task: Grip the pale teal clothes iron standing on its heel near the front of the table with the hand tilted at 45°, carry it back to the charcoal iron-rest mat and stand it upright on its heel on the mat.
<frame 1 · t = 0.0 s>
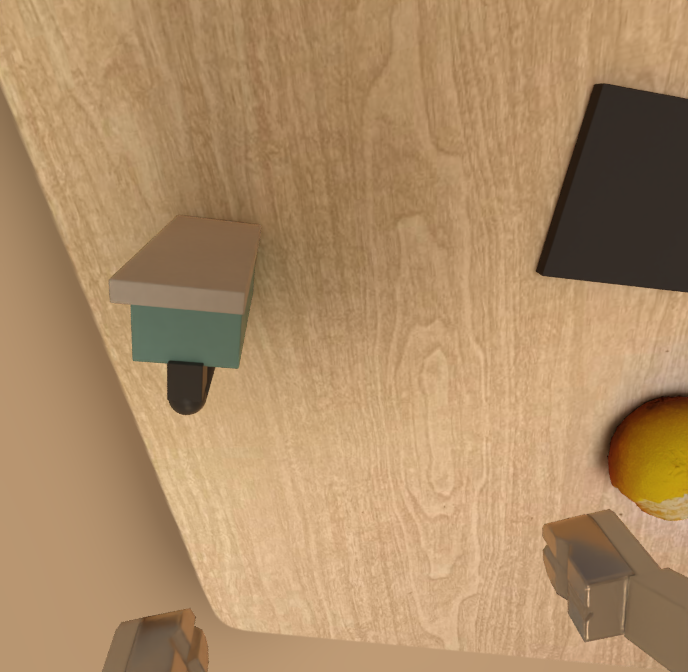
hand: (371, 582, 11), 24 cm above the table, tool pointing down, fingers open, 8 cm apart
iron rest: (643, 196, 33), on the table
fruit: (657, 440, 43), on the table
iron: (217, 262, 32), on the table
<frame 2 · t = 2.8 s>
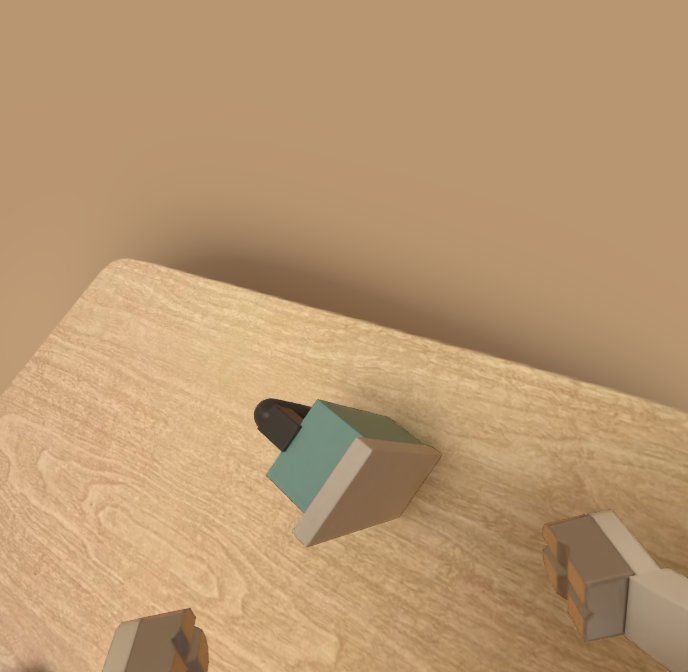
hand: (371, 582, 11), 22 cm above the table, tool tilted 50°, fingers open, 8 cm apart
iron: (388, 460, 34), on the table
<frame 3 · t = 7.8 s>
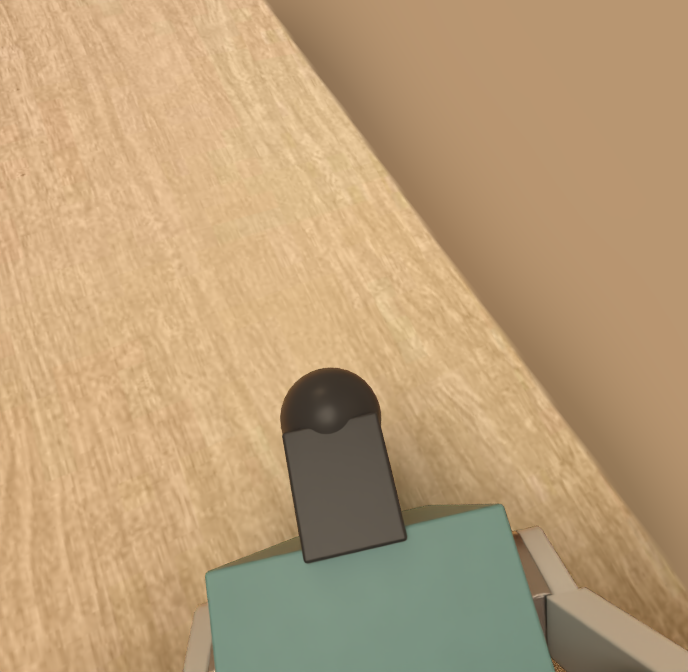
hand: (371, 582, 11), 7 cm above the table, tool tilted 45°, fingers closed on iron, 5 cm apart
iron: (378, 572, 17), on the table, touching gripper
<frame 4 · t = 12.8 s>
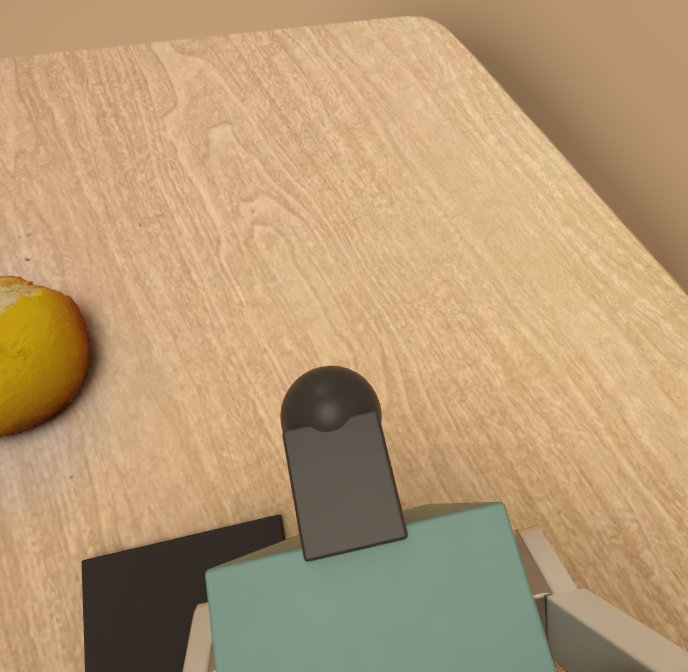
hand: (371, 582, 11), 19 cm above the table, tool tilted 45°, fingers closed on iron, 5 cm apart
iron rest: (197, 647, 28), on the table
fruit: (26, 364, 34), on the table
iron: (378, 571, 17), point 12 cm above the table, touching gripper
when the fingers open (8 cm above the table, at t = 18.2 s): iron stays where it is, resting on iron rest.
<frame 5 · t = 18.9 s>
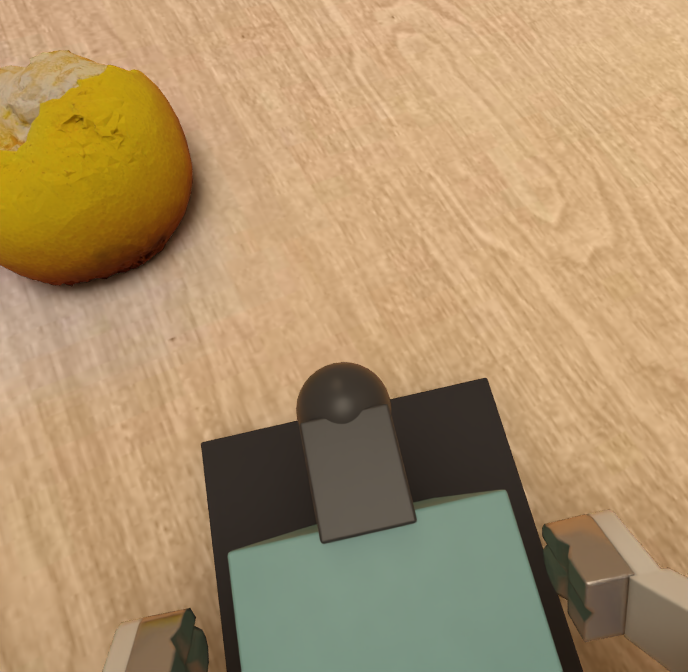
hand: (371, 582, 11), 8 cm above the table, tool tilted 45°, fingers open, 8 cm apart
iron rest: (378, 565, 19), on the table
fruit: (100, 202, 25), on the table
iron: (383, 562, 18), point 1 cm above the table, touching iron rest
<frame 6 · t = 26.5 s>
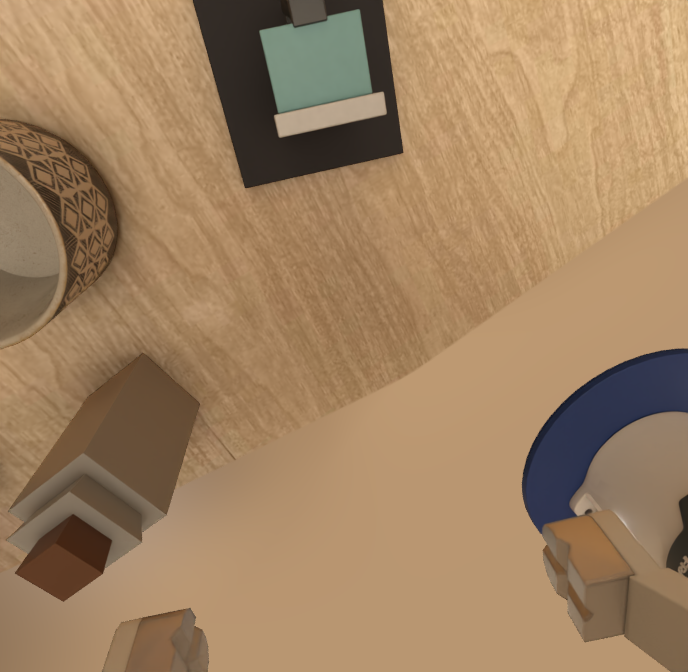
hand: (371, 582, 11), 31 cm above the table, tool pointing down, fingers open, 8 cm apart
perfume bottle: (145, 399, 44), on the table
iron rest: (305, 81, 34), on the table
planter: (33, 212, 36), on the table
iron: (308, 77, 33), point 1 cm above the table, touching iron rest
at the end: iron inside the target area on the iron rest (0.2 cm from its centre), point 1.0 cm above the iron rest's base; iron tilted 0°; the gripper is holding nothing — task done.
